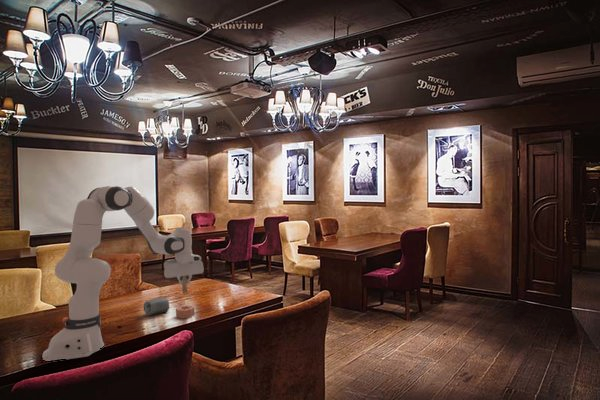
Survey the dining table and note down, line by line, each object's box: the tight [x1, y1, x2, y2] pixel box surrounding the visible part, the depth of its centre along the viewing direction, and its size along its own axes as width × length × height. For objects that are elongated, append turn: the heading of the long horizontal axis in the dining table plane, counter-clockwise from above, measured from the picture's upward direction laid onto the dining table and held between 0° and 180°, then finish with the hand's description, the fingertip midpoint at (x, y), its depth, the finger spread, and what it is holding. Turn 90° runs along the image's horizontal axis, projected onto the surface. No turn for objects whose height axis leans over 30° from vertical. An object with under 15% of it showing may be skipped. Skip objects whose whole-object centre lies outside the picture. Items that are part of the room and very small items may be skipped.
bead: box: [175, 304, 196, 319], centre depth 211 cm, size 9×9×4 cm
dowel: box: [181, 275, 188, 294], centre depth 210 cm, size 2×2×10 cm
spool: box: [143, 296, 170, 316], centre depth 215 cm, size 14×10×10 cm
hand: (184, 283), depth 210 cm, fingers closed on dowel, 2 cm apart
